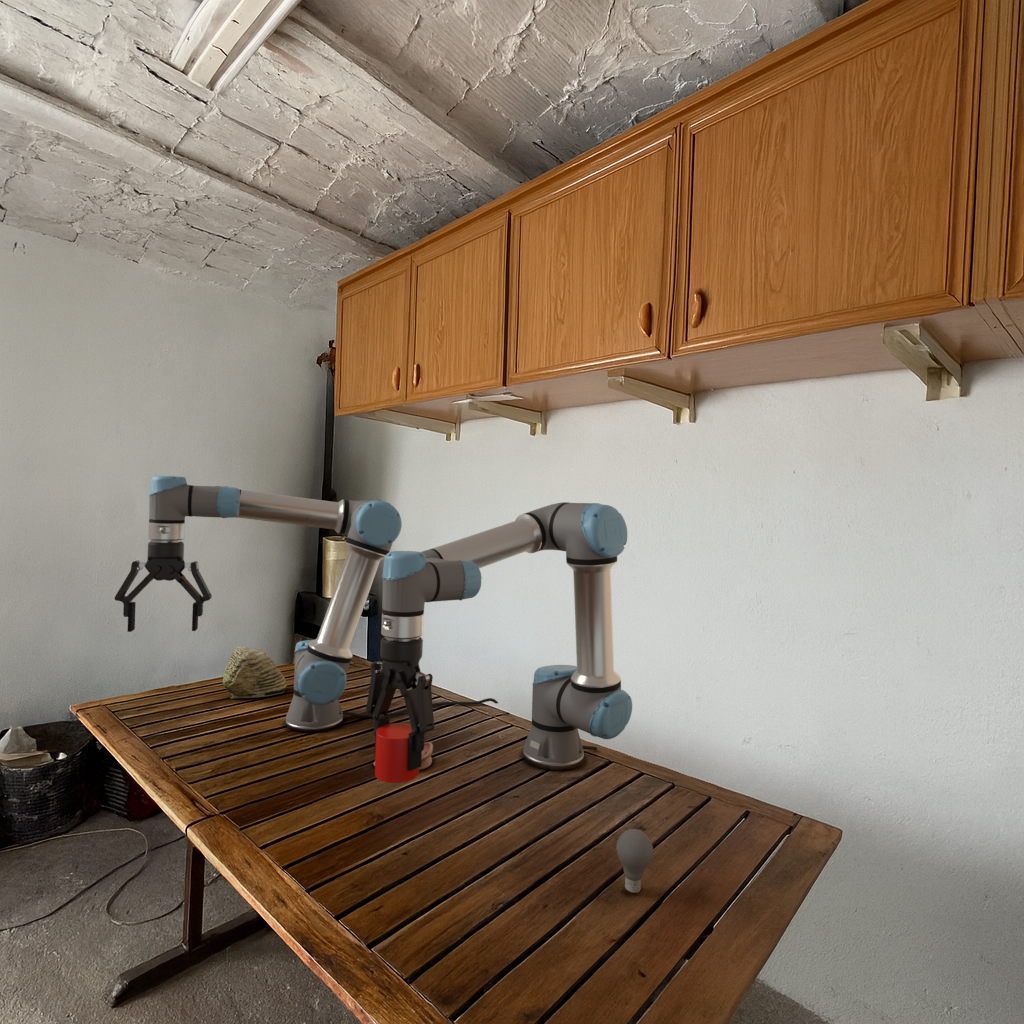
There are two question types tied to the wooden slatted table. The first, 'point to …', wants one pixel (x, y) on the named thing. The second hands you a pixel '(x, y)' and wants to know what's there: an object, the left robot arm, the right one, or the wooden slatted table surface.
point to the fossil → (252, 674)
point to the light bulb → (634, 857)
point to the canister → (393, 753)
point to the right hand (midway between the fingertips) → (397, 761)
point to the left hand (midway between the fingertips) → (163, 630)
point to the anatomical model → (425, 755)
